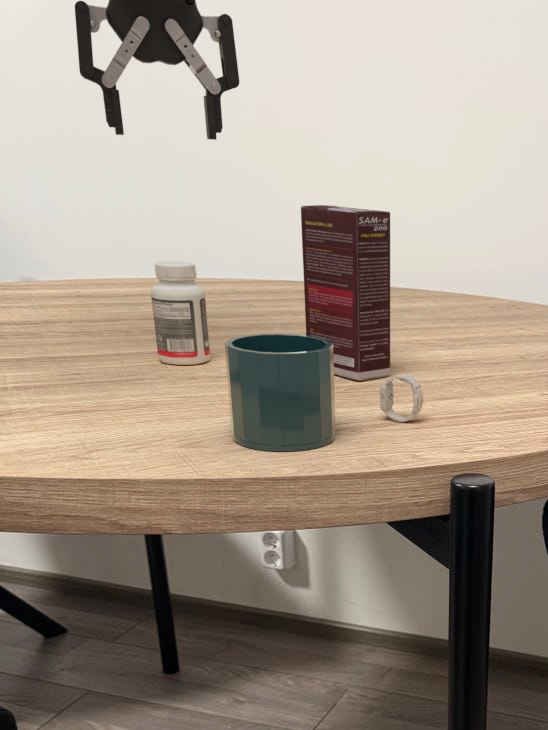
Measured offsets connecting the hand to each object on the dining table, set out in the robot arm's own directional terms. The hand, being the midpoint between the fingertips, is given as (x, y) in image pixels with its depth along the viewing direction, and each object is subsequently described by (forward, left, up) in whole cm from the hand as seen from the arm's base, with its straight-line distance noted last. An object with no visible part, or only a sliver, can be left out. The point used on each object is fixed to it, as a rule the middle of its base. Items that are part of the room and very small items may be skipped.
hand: (166, 137), depth 91 cm
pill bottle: (0, 0, -21) cm, 21 cm away
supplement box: (+16, -8, -21) cm, 28 cm away
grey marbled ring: (+15, -28, -21) cm, 38 cm away
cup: (+5, -31, -21) cm, 38 cm away
